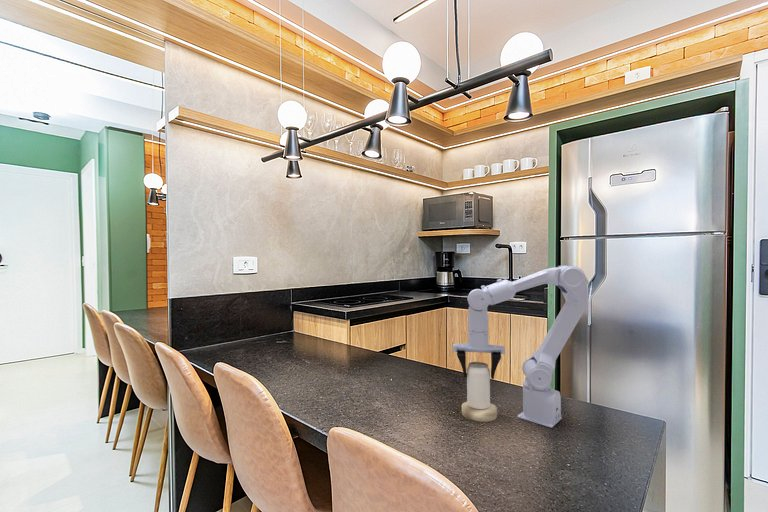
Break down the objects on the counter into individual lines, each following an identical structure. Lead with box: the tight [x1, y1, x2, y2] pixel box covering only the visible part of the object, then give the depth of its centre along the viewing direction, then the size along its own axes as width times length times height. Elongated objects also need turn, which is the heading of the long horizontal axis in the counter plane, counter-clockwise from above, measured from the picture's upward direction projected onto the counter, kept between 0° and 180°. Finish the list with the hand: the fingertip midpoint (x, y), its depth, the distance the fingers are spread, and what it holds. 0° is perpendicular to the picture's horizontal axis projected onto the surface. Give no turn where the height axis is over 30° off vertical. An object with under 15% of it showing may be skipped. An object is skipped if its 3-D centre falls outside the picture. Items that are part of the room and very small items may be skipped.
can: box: [466, 361, 491, 410], centre depth 106 cm, size 6×6×12 cm
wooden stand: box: [461, 401, 498, 423], centre depth 105 cm, size 10×10×2 cm
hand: (478, 377), depth 106 cm, fingers open, 7 cm apart
